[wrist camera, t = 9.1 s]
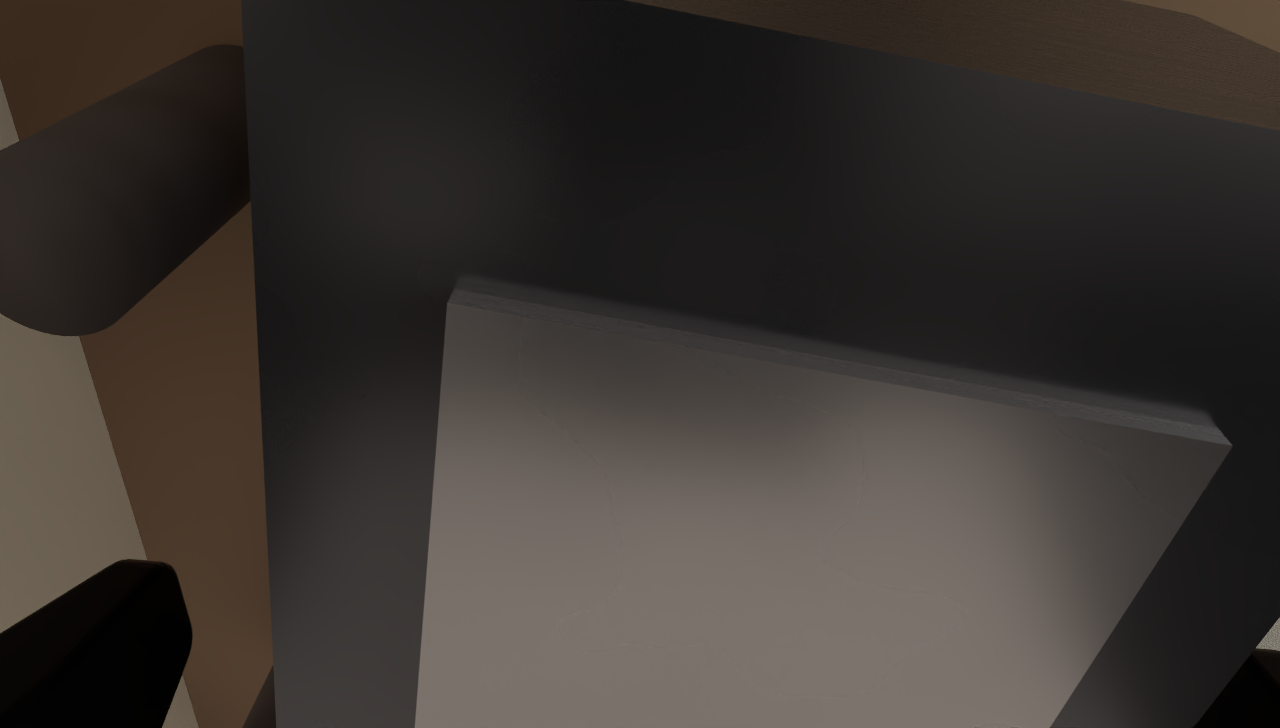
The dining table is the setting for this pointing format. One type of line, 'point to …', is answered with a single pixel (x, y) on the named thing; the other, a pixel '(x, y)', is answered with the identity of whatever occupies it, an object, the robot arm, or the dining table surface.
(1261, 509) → the drive
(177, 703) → the dining table surface
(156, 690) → the robot arm
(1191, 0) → the wooden peg board
